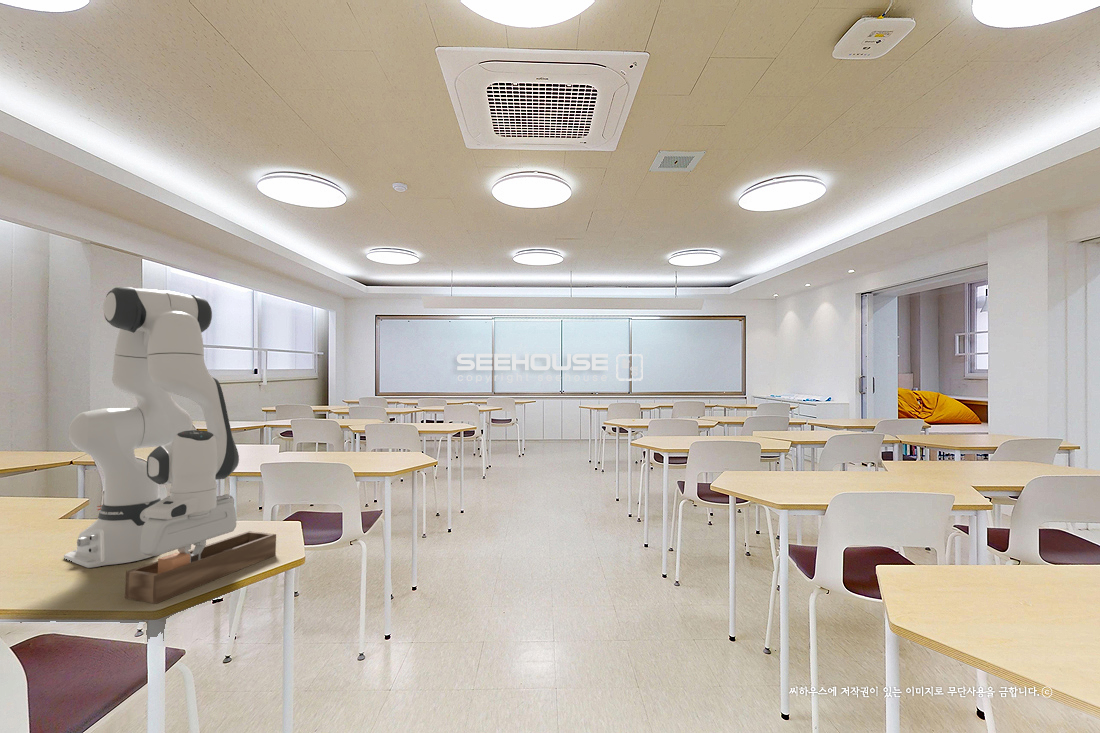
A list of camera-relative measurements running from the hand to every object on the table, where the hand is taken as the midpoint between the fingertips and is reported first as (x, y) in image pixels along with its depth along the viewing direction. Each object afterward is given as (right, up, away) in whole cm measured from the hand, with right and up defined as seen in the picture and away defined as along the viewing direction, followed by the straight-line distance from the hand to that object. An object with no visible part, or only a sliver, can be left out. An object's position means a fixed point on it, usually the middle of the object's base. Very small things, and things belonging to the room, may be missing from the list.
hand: (191, 562), depth 112 cm
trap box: (+1, -4, +4) cm, 6 cm away
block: (-1, -1, -4) cm, 4 cm away
